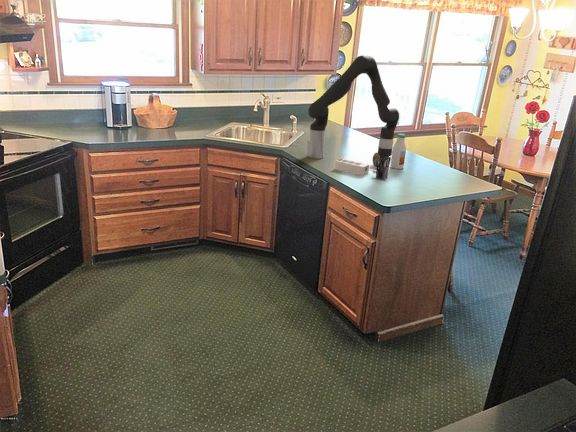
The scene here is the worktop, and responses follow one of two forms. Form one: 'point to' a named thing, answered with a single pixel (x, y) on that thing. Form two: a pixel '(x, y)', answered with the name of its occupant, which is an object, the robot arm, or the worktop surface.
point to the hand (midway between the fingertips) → (381, 176)
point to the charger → (384, 173)
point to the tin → (375, 158)
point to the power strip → (352, 166)
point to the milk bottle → (398, 152)
